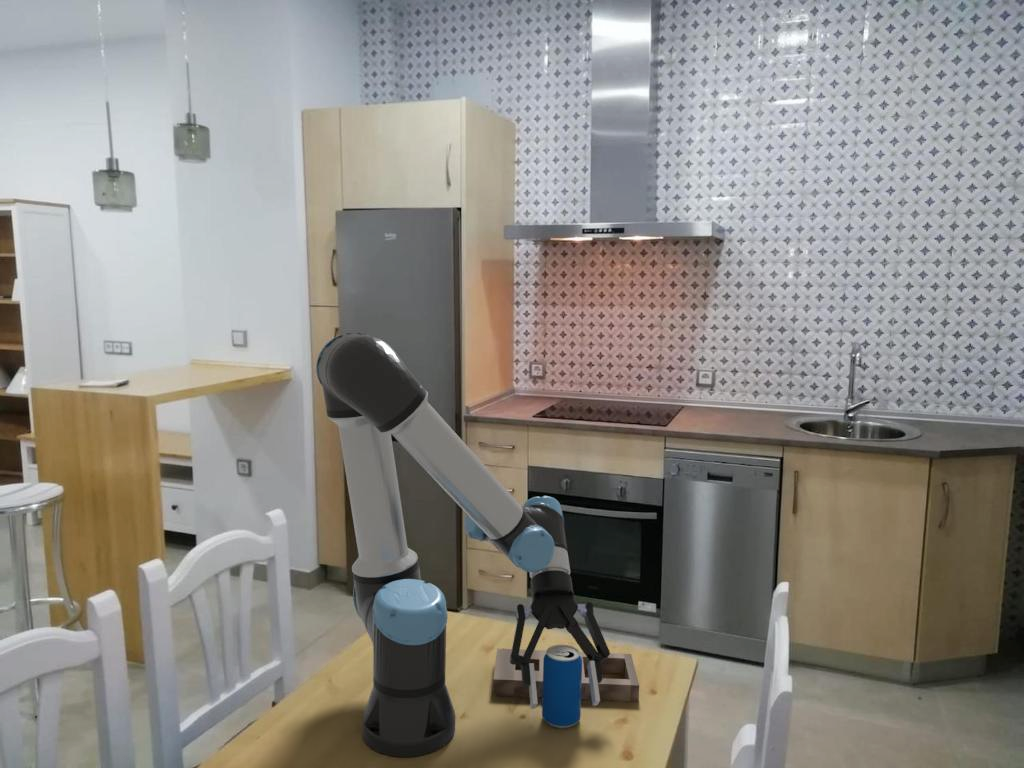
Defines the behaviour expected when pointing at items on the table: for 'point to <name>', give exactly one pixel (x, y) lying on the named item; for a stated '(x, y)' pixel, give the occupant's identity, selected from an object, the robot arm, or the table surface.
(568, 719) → the beverage can
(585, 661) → the hole board
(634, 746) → the table surface
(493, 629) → the table surface
